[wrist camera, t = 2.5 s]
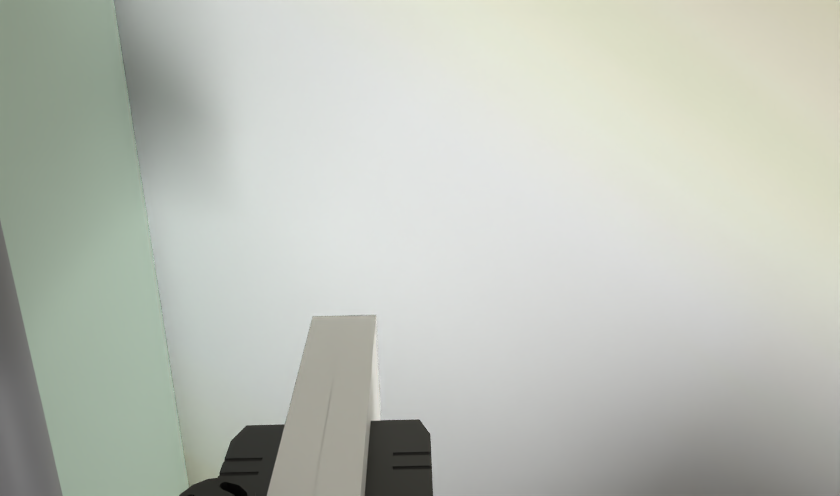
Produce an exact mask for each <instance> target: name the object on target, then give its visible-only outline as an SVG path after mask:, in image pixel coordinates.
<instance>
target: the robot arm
mask: <svg viewBox="0 0 840 496" xmlns="http://www.w3.org/2000/svg"><path fill="white" fill-rule="evenodd" d="M380 415H381V410H380V389H379V367H378V345H377V324H376V315H351V316H313V317H312V321H311V325H310V329H309V333H308V337H307V340H306V344H305V348H304V352H303V356H302V360H301V364H300V368H299V372H298V376H297V379H296V383H295V387H294V391H293V395H292V399H291V403H290V407H289V411H288V415H287V419H286V422H285V425H252V426H246V427H245V428H244V429H243V430H242V431H241V432H240V433H239V434H238V435H237V436H236V437H235V438H234V439H233V440H232V441H231V442H230V445H229V448H228V451H227V454H226V456H225V462H223V465H222V468H221V470H220V476H218V478H213V479H207V480H205V481H202V482H199V483H197V484H194V485H192V486H191V487H189V488H188V489H187V490H185V491H184V492H182V493H181V494H180V495H179V496H433V488H432V464H431V441H430V433H429V432H428V431H427V429H426V428H425V427H424V425H423V424H422V422H421V421H420V420H383V421H380Z"/></svg>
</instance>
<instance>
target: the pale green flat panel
mask: <svg viewBox="0 0 840 496" xmlns="http://www.w3.org/2000/svg"><path fill="white" fill-rule="evenodd" d="M188 488H189V483H188V477H187V470H186V464H185V458H184V451H183V445H182V438H181V432H180V425H179V419H178V412H177V406H176V399H175V393H174V386H173V380H172V374H171V367H170V361H169V354H168V348H167V341H166V335H165V328H164V322H163V315H162V309H161V302H160V296H159V290H158V283H157V277H156V270H155V264H154V257H153V251H152V244H151V238H150V231H149V225H148V218H147V212H146V206H145V199H144V193H143V186H142V180H141V173H140V167H139V160H138V154H137V147H136V141H135V134H134V128H133V122H132V115H131V109H130V102H129V96H128V89H127V83H126V76H125V70H124V63H123V57H122V50H121V44H120V38H119V31H118V25H117V18H116V12H115V5H114V0H0V496H179V495H180V494H181V493H182V492H184V491H185V490H187V489H188Z"/></svg>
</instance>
